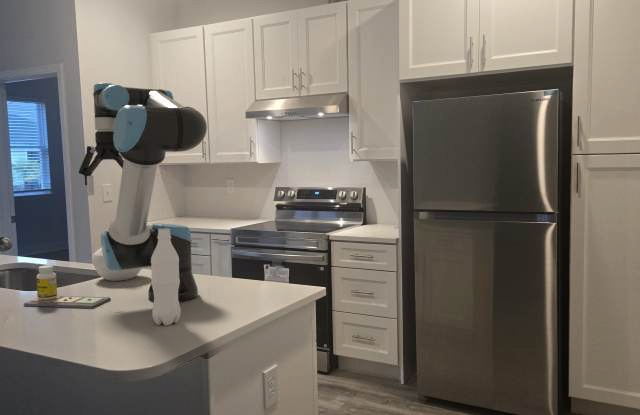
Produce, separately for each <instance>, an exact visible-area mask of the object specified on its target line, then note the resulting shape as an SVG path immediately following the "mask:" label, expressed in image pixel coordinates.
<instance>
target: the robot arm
mask: <svg viewBox="0 0 640 415" xmlns="http://www.w3.org/2000/svg"><path fill="white" fill-rule="evenodd" d="M92 95H93V106H94V108H93V109H94V130H95V131H96V132H95V133H94V134H95V135H94V136H95V137H94V138H95V139H94V140H95V141H94V142H95V146H94V145H93V146H92V145H91V146H90V145H87V146H86V154H85V156H84V158H83V160H82V163H81V164H80V168H79V169H78V174H80V175H83V176H84V185H85V186H86V187H87V189H86V190H87V193H86V194H87V196H89V197H90V196H95V186H94V185H95V184H94V183H95V182H94V180H95V178H94V175H93V173H94V172H95V170H96V169H97V168H98V166H99V165H100V163H101V162H102V161H105V160H106V161H107V160H109V161H110V160H113V161H116V163H117V164H118V165H119V167H120V168H121V169H122V170H121V179H120V186H119V191H118V200H117V207H116V214H115V220H114V221H113V222H111V223H110V224H109V227H108V231H102V232H101V234H100V245H101V247H102V252H103V257H104V261H105V265H106V267H107V268H108V269H109V270H125V269H134V268H142V269H143V268H150V267H151V257H152V254H153V252H154V250H155V248H156V246H157V244H158V238H157V237H158V229H163V228H169V229H170V234H171V235H170V236H171V238H170V239H171V243H172V245H173V247H174V249H175V250H176V252H177V254H178V257H179V279H180V284H179V289H178V301H179V303H180V302H185V301H190V300H192V299H193V300H194V299H195V298H197V297H198V296H199V290H198V285H197V283H196V279H195V276H194V275H193V272H192V270H193V269H192V267H193V266H192V237H191V230H190V228H189V227H188V226H186V225H181V224H172V223H156V222H155V223H152V225H151V228H150V227H149V225H148V218H149V213H150V207H151V201H152V195H153V190H154V185H155V178H156V174H157V173H156V172H157V168H158V165H160V164H162V163H163V161H164V160H165V159H166V158H165V157H166V153H168V152H169V153H174V152H179V153H180V152H187V151H191V150H193V149H194V148H196V147H197V146H199V145H200V144H201V143H202V142H203V140H204V139H205V137H206V134H207V130H208V126H207V121H206V118H205V116H203V114H202V113H201V112H200V111H198V110H197V109H195V108H193V107H191V106H184V105H182V104H180V103H179V102H177V101H176V100H174V95H173V93H172V92H171V91H170V90H165V89H161V88H158V89H154V88H153V89H152V88H139V87H127V86H122V85H120V84H114V83H112V82H111V83H110V82H99V83H95V84H94V85H93V92H92ZM95 153H97V154H96V155H95V157H94V154H95ZM91 161H92V162H91ZM147 293H148V294H147V295H148V296H147V297H148V300H149V301H152V302H154V292H153V288H152V285H151V284H150V286H149V287H148V292H147Z"/></svg>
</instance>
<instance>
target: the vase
mask: <svg viewBox="0 0 640 415" xmlns="http://www.w3.org/2000/svg"><path fill="white" fill-rule="evenodd" d="M91 261H92V265H93V267H94V269H95V272H97V274H98V275H99V276H100V277H102V279H104V280H106V281H110V282H119V281H127V280H131V279H133V278H135V277H136V276H137V275H138V274H139V273H140V272H141V270H142V269H143V267H142V268H134V269H125V270H109V269H108V268H107V267H106V265H105V261H104V257H103V252H102V246H101V247H100V248H99V249H97V250H96V251H95V252H94V253H93V254H92V260H91Z"/></svg>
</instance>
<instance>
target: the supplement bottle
mask: <svg viewBox="0 0 640 415" xmlns="http://www.w3.org/2000/svg"><path fill="white" fill-rule="evenodd" d="M36 292H37V298H38V299H40V300H49V299H53V298H56V297H57V296H58V284H57V273H56V272H54V265H50V264H49V265H48V264H47V265H41V266H39V267H38V274H37V275H36Z"/></svg>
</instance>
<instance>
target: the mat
mask: <svg viewBox="0 0 640 415" xmlns="http://www.w3.org/2000/svg"><path fill="white" fill-rule="evenodd" d="M111 300H112V299H111V297H110V296H107V297H106V296H105V297H104V296H79V295H78V296H74V295H72V296H71V295H57V297H56V298H53V299H49V300H40V299H38V297H37V298H35V299H33V300H30V301H26V302H25V303H23V306H24V307H36V306H53V307H52V308H65V307H70V308H73V309H94V308H97V307H99V306H101V305H102V304H105V303H107V302H110V301H111Z"/></svg>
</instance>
